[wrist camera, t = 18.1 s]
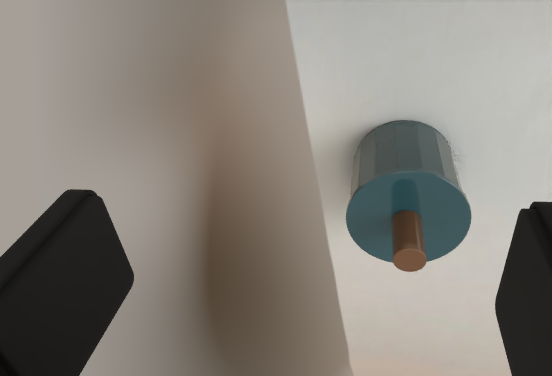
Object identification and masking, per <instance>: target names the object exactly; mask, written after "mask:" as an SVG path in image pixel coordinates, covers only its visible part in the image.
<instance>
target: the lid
mask: <svg viewBox="0 0 552 376" xmlns="http://www.w3.org/2000/svg"><path fill="white" fill-rule="evenodd" d="M346 223H347V228H348V231H349V233H350V235H351V237H352V238H353V240H354V241H355V242H356V244H357V245H358V246H359V247H360V248H362V249H363V250H364V251H366V252H367V253H368V254H370V255H372V256H374V257H376V258H379V259H381V260H384V261H388V262H392V263H394V265H395V266H396V267H397V268H398V269H400V270H402V271H407V272H413V271H417V270H420V269H421V268H423V267H424V266H425V264H426V262H428V261H432V260H435V259H437V258H440V257H442V256H444V255H446V254H448V253H449V252H451V251H452V250H453V249H455V248H456V247H457V246H458V245H459V244H460V243H461V242H462V241H463V239H464V238H465V236H466V235H467V232H468V230H469V227H470V224H471V210H470V206H469V202H468V199H467V197H466V195H465V194H464V192H463V191H462V189H461V188H460V187H459V186H458V185H457V184H456V183H454V182H453V181H452V180H451V179H449V178H447V177H446V176H444V175H442V174H439V173H437V172H434V171H431V170H427V169H422V168H411V167H409V168H397V169H391V170H388V171H384V172H381V173H379V174H376V175H375V176H373V177H371V178H369V179H368V180H366V181H365V182H363V183H362V184H361V185H360V186H359V187H358V188H357V189H356V190H355V192H354V193H353V195H352V196H351V198H350V200H349V203H348V206H347V212H346Z"/></svg>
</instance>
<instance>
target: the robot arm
mask: <svg viewBox="0 0 552 376" xmlns="http://www.w3.org/2000/svg"><path fill="white" fill-rule="evenodd" d="M133 281H134V274H133V271H132V268H131V266H130V263H129V261H128V259H127V256H126V254H125V252H124V249H123V247H122V244H121V242H120V240H119V237H118V235H117V233H116V230H115V228H114V225H113V223H112V221H111V218H110V216H109V213H108V211H107V209H106V206H105V204H104V202H103V200H102V198H101V197H99V196H97V194H96V193H95V192H94V191H92V190H72V189H70V190H67V191H65V192H64V193H63V194H62V195H61V196H60V197H59V198H58V199H57V200H56V201H55V202H54V203H53V204H52V205H51V206H50V207H49V208H48V209H47V210H46V211H45V213H43V214H42V215H41V216H40V217H39V218H38V220H36V221H35V222H34V224H33V225H32V226H31V227H30V228H29V229H28V230H27V231H26V232H25V233H24V234H23V235H22V236H21V237H20V238H19V239H18V240H17V241H16V242H15V243H14V244H13V245H12V246H11V247H10V248H9V249H8V250H7V251H6V252H5V253H4V254H3V255H2V256H1V257H0V376H79V375H80V373H81V372H82V370H83V368H84V366H85V365H86V363H87V361H88V360H89V358H90V356H91V354H92V353H93V351H94V350H95V348H96V346H97V345H98V343H99V341H100V339H101V338H102V336H103V335H104V333H105V331H106V329H107V328H108V326H109V324H110V323H111V321H112V319H113V318H114V316H115V314H116V313H117V311H118V309H119V308H120V306H121V304H122V302H123V301H124V299H125V298H126V296H127V294H128V292H129V291H130V289H131V287H132V285H133ZM495 310H496V316H497V320H498V324H499V328H500V332H501V336H502V339H503V343H504V347H505V351H506V355H507V358H508V362H509V366H510V370H511V374H512V376H552V202H533V203H532V204H531V205H530V208H529V209H521V210H520V212H519V215H518V219H517V223H516V226H515V230H514V234H513V237H512V241H511V245H510V248H509V252H508V256H507V259H506V263H505V267H504V271H503V274H502V278H501V282H500V285H499V289H498V293H497V296H496V302H495Z"/></svg>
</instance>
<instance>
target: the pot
mask: <svg viewBox="0 0 552 376" xmlns="http://www.w3.org/2000/svg"><path fill="white" fill-rule="evenodd" d="M409 167H411V168H422V169H427V170H431V171H434V172H437V173H439V174H442V175H444V176H446V177H447V178H449V179H451V180H452V181H453V182H454V183H456V184H457V185H458V186H459V187H460V188H461V185H460V181H459V177H458V173H457V169H456V165H455V162H454V158H453V155H452V152H451V149H450V146H449V144H448V142H447V141H446V139H445V138H444V137H443V136H442V134H441V133H439V132H438V131H437V130H436V129H434V128H432V127H431V126H428V125H426V124H423V123H420V122H415V121H395V122H390V123H387V124H384V125H382V126H379V127H378V128H376V129H374V130H373V131H371V132H370V133H369V134H368V135H367V136H366V137H365V138H364V139H363V140H362V141H361V143H360V144H359V146H358V148H357V150H356V154H355V156H354V163H353V174H352V186H351V196H352V195H353V193H354V192H355V190H356V189H357V188H358V187H359V186H360V185H361V184H362V183H363V182H365V181H366V180H368V179H369V178H371V177H373V176H375V175H376V174H379V173H381V172H384V171H388V170H391V169H397V168H409ZM350 198H351V197H350Z"/></svg>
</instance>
